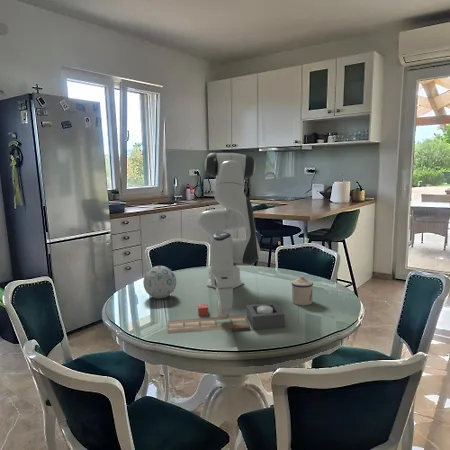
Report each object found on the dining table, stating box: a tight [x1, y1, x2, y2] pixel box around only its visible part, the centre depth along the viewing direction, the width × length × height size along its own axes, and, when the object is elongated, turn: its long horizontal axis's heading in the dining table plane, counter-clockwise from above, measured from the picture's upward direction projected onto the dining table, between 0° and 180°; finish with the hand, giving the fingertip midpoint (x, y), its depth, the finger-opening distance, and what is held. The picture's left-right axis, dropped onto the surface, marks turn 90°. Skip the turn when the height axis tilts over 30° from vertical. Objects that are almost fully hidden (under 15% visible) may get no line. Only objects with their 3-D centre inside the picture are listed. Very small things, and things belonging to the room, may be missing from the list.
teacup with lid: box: [291, 275, 314, 306], centre depth 167 cm, size 12×9×12 cm
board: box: [167, 314, 251, 335], centre depth 144 cm, size 12×30×1 cm, turn 97°
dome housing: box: [246, 302, 285, 331], centre depth 146 cm, size 12×12×5 cm
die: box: [197, 303, 210, 316], centre depth 154 cm, size 4×4×4 cm
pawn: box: [217, 300, 230, 319], centre depth 143 cm, size 4×4×6 cm
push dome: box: [257, 305, 273, 314], centre depth 146 cm, size 6×6×3 cm
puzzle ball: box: [143, 265, 177, 300], centre depth 177 cm, size 15×15×15 cm
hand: (223, 312), depth 144 cm, fingers closed on pawn, 4 cm apart
